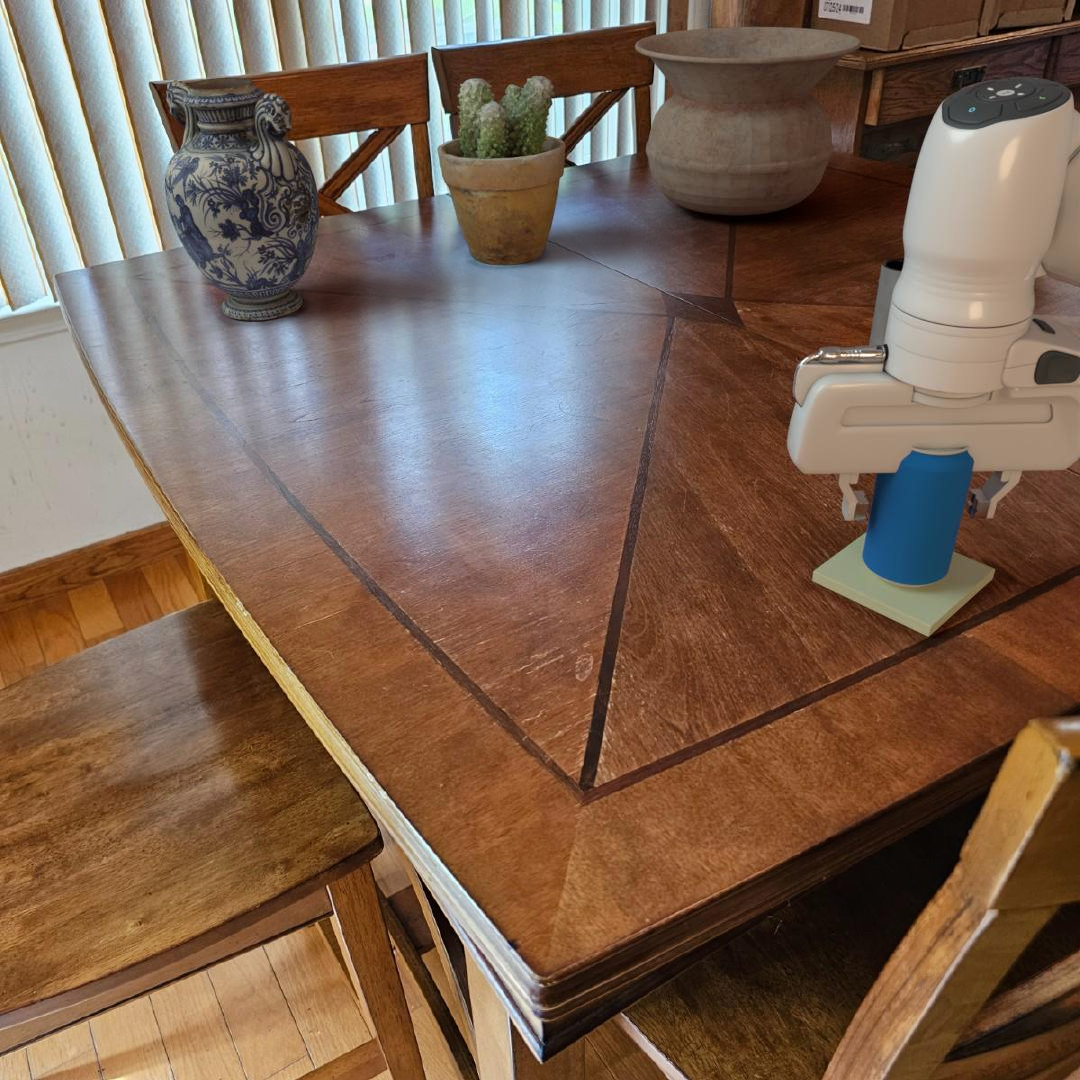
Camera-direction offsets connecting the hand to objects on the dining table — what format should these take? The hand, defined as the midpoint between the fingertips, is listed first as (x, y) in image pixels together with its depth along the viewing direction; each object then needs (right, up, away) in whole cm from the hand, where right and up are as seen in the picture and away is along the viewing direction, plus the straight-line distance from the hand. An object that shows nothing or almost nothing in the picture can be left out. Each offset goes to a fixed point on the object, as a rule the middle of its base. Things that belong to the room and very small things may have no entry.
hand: (915, 515), depth 75 cm
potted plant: (-33, +42, +75) cm, 92 cm away
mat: (0, -5, +3) cm, 6 cm away
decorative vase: (-66, +30, +59) cm, 93 cm away
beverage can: (0, -4, +3) cm, 5 cm away
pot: (+4, +54, +91) cm, 106 cm away
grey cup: (+12, +20, +40) cm, 46 cm away
